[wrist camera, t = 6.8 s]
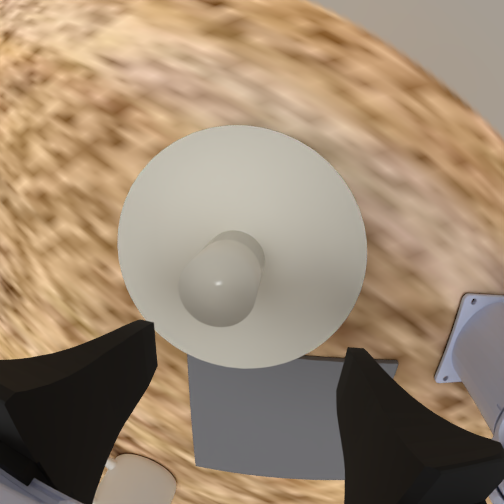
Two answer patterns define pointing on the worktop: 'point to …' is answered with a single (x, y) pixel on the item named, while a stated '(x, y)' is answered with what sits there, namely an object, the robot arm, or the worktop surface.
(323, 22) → the worktop surface
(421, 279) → the worktop surface
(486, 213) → the worktop surface
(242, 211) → the lid
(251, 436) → the mat
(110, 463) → the mug
